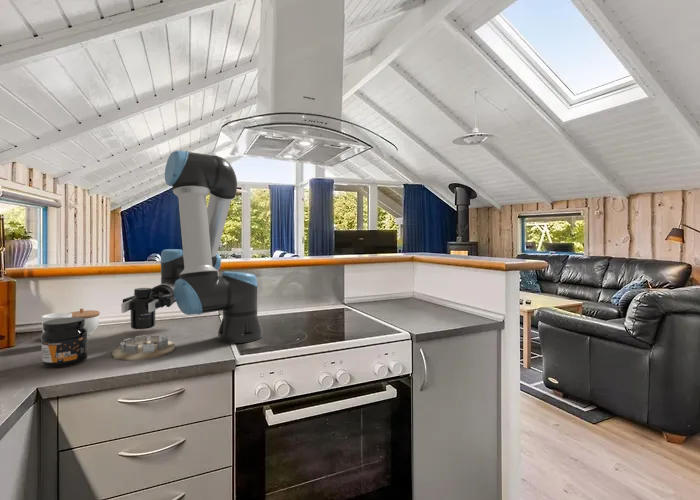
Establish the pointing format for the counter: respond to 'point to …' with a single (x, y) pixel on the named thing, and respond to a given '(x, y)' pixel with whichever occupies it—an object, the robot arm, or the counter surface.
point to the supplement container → (64, 342)
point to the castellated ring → (131, 349)
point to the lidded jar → (88, 319)
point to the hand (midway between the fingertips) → (136, 308)
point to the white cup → (54, 317)
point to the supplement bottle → (142, 309)
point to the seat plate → (140, 355)
